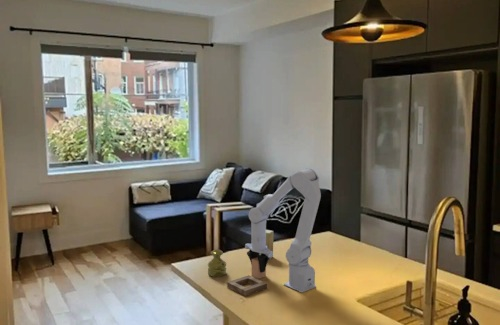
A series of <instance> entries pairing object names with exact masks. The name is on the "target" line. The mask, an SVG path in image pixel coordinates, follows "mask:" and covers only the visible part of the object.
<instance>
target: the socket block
mask: <svg viewBox="0 0 500 325" xmlns="http://www.w3.org/2000/svg"><path fill="white" fill-rule="evenodd" d="M246 284H249V285H250V286H246V287H245V286H243V285H246ZM226 286H227V288H228V289H230V290H232V291H234V292H236V293H237V294H240V295H242V296H244V297H247V296H250V295H253V294H256V293H258V292H261V291H264V290H267V289H268V283H267V282H265V281H263V280H261V279H258V278H255V277H253V276H252V275H249V274H248V275H245V276H242V277H238V278H235V279H233V280H229V281H227V282H226Z"/></svg>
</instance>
